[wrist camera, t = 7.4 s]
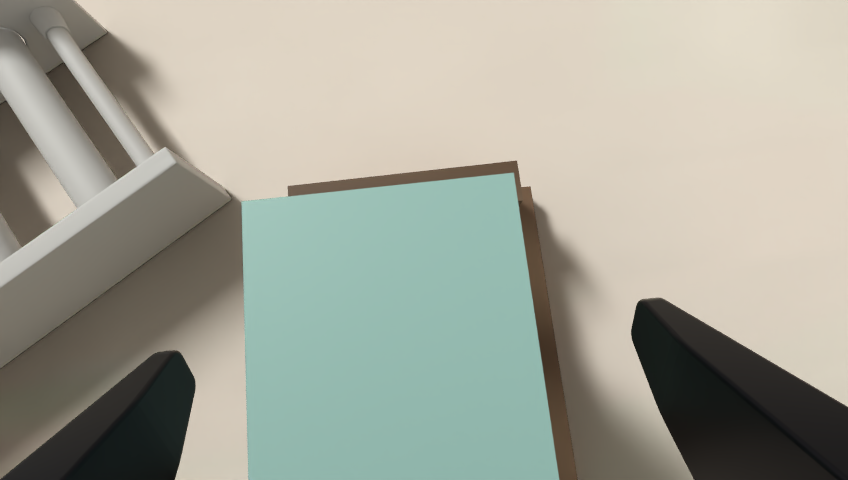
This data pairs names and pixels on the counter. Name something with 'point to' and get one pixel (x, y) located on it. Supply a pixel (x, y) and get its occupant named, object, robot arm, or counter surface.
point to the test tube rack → (82, 180)
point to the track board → (535, 275)
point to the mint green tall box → (393, 336)
